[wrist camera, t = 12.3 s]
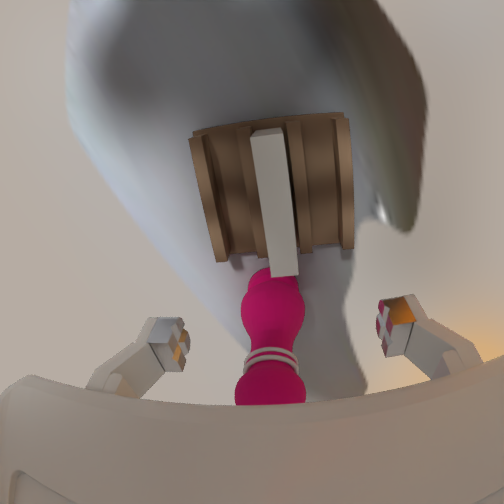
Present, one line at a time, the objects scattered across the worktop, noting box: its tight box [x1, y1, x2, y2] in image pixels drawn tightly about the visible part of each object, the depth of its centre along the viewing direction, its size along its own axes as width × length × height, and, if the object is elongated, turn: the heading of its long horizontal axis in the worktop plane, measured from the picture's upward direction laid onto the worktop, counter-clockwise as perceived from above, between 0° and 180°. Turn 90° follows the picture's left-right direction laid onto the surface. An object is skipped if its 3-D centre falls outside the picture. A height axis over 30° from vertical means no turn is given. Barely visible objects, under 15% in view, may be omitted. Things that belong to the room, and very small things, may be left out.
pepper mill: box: [235, 267, 306, 405], centre depth 27 cm, size 7×7×20 cm
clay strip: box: [250, 127, 299, 278], centre depth 25 cm, size 12×2×7 cm, turn 9°
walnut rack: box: [188, 112, 354, 263], centre depth 28 cm, size 14×15×4 cm
